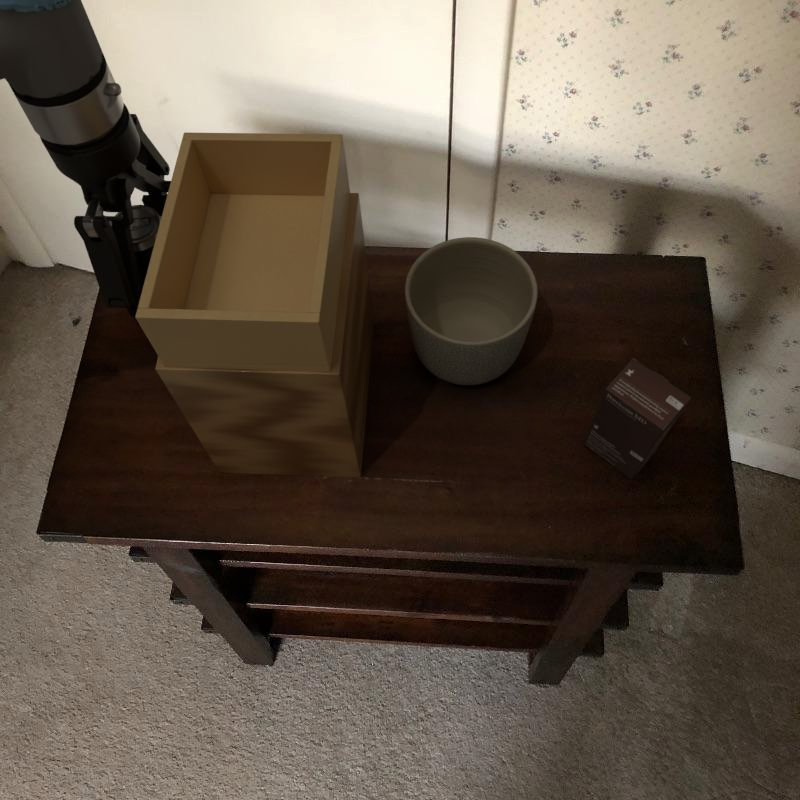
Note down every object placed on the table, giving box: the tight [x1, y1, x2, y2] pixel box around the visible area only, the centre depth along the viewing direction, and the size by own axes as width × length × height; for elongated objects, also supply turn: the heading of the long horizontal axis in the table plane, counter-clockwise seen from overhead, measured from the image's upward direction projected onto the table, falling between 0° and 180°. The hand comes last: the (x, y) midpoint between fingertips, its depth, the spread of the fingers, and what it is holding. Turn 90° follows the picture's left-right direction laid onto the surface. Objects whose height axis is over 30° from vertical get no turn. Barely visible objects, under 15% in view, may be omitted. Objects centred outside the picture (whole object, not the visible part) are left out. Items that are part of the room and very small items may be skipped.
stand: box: [154, 192, 375, 479], centre depth 70 cm, size 14×18×20 cm
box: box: [582, 357, 692, 481], centre depth 70 cm, size 6×4×12 cm
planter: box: [404, 236, 539, 386], centre depth 76 cm, size 12×12×11 cm
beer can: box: [114, 204, 162, 284], centre depth 80 cm, size 5×5×12 cm
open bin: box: [135, 132, 351, 372], centre depth 59 cm, size 13×18×7 cm
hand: (163, 280), depth 83 cm, fingers open, 11 cm apart
